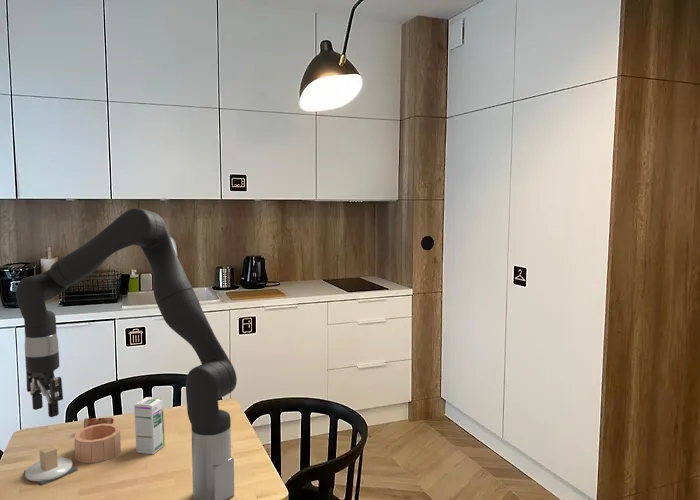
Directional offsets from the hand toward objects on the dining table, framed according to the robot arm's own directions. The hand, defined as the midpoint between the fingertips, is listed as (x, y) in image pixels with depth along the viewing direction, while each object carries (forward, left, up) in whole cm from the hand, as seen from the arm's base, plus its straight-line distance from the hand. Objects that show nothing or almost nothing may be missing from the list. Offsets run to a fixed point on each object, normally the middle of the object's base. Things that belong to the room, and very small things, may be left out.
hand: (45, 412), depth 138 cm
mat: (0, -1, -17) cm, 17 cm away
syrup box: (-10, -24, -17) cm, 31 cm away
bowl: (0, -14, -17) cm, 22 cm away
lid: (0, 0, -16) cm, 16 cm away
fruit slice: (+12, -21, -17) cm, 29 cm away
